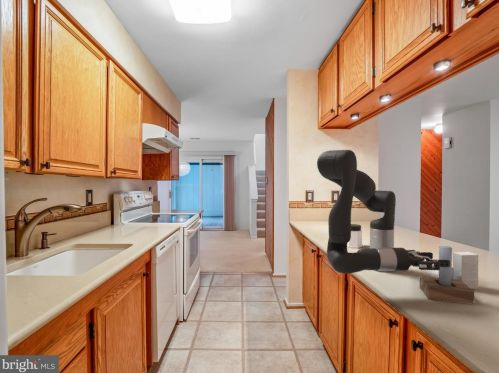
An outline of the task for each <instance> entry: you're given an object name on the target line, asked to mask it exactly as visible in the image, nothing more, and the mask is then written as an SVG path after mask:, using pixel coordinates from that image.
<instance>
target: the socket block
mask: <svg viewBox="0 0 499 373" xmlns="http://www.w3.org/2000/svg"><path fill="white" fill-rule="evenodd" d="M418 283H419V284H418V285H419V288H420V290H421V292H422V293H423V294H424V295H425V296H426V297H427V299H428V300H431V301H440V302H448V301H450V302H449V303H457V302H458V303H460V304H469V305H474V304H475V290H473V289H471V288H469V287H468V286H467V285H466V284H465V283H463V282H462V281H461V280H459V279H451V286H443V285H438V284H439V277H436V276H435V277H434V276H422V275H419V282H418Z"/></svg>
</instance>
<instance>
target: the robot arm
mask: <svg viewBox="0 0 499 373" xmlns="http://www.w3.org/2000/svg"><path fill="white" fill-rule="evenodd" d="M316 167H317V170H318V172H319V175H321V177H322V178H324V179H326V180H328V181H330V182H332V183H334V184H336V185H338V186H339V187H340V188H341V189H340V193H339V194H338V197H337V199H336V201H335V203H334V204H333V205H332V207H331V210H330V211H329V214H328V219H327V220H328V225H327V226H328V240H327V246H326V247H327V248H326V257H327V260H328V263H329V264H330V265H331V267H332V268H333V270H334V271H335V272H338V273H339V274H345V275H348V274H354V273H360V272H362V271H377V272H385V273H387V272H388V273H389V272H407V271H409V269H410V268H411V266H412V267H413V268H418V269H419V270H420V271H439V270H440V267H450V261H449V260H439V259H434V254H433V252H431V251H427V252H426V251H419V250H417V251H416V250H415V249H406V248H405V247H395V219H396V218H395V217H396V216H395V215H396V203H397V201H396V194H395V192H394V191H392V190H376V189H377V186H376V183H375V181H374V179H373V178H372V177H371V176H370V175H369V174H367V173H366V172H365V171H361V170H359V169H358V161H357V156H356V153H355V152H354V150H352V149H338V150H337V149H335V150H326V151H323V152H321V153H320V154H319V156H318V158H317V161H316ZM354 198H355V199H357V200H358V201H360V202H361V203H362V204H363V205H364V207H365V208H366V209H367V210H369V211H371V212H374V213H375V212H376V213H383V216H382V217H380V218H377V219H373V220H371V221H370V222H369V248H366V247H365V248H358V249H357V251H356V252H348V251H349V250H348V247H347V243H348V242H349V241H350V239H351V224H352V206H353V200H354Z"/></svg>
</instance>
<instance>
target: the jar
mask: <svg viewBox="0 0 499 373" xmlns="http://www.w3.org/2000/svg"><path fill="white" fill-rule="evenodd" d="M362 247H363V230H362V225H361V224H356V223H351V239H350V241H349V242H348V243H347V248H351V249H361V248H362Z"/></svg>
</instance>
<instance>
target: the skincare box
mask: <svg viewBox="0 0 499 373" xmlns="http://www.w3.org/2000/svg"><path fill="white" fill-rule="evenodd" d="M452 267H453V268H454V279H459V280H461V281H462V282H463V283H465V284H466V285H467V286H468V287H469V288H471V289H472V290H473V289H475V290H476V289H477V290H478V289H479V254H477V253H474V252H471V251H453V252H452Z"/></svg>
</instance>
